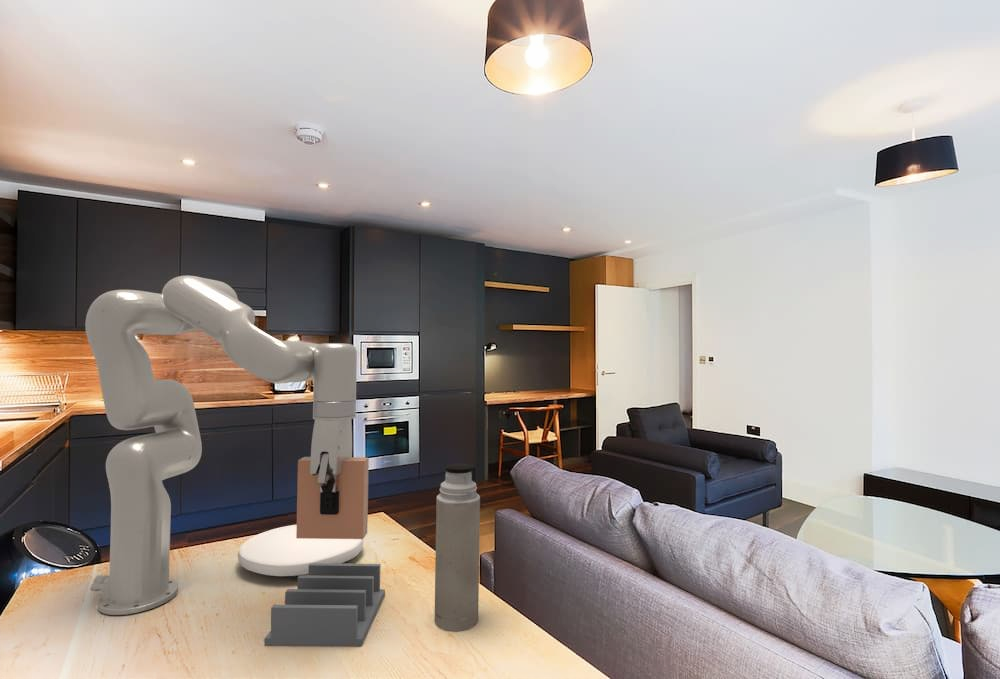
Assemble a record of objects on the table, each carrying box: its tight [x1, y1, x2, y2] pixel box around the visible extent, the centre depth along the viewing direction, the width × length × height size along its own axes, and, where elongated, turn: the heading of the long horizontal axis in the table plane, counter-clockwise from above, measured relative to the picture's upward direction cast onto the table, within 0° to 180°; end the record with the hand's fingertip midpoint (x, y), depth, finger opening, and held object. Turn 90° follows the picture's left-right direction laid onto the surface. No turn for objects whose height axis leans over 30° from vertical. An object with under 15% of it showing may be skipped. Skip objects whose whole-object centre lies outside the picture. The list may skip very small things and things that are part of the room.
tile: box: [296, 456, 370, 540], centre depth 93 cm, size 12×3×14 cm, turn 90°
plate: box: [237, 524, 364, 577], centre depth 118 cm, size 28×6×27 cm
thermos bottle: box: [434, 463, 481, 632], centre depth 93 cm, size 8×8×28 cm
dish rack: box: [263, 563, 386, 647], centre depth 92 cm, size 16×18×6 cm
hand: (332, 509), depth 93 cm, fingers closed on tile, 3 cm apart
